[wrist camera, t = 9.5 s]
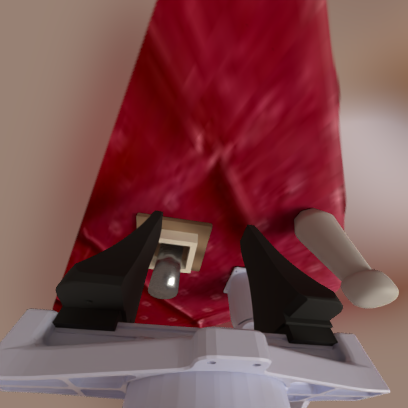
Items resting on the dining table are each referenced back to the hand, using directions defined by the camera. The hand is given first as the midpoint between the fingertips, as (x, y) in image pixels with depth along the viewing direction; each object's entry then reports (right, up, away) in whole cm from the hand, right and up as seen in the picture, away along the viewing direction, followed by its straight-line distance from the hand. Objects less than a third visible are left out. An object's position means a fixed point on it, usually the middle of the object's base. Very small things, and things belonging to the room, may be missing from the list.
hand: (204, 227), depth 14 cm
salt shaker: (+17, 0, +13) cm, 21 cm away
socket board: (-6, -5, +16) cm, 18 cm away
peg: (-6, -6, +15) cm, 17 cm away
